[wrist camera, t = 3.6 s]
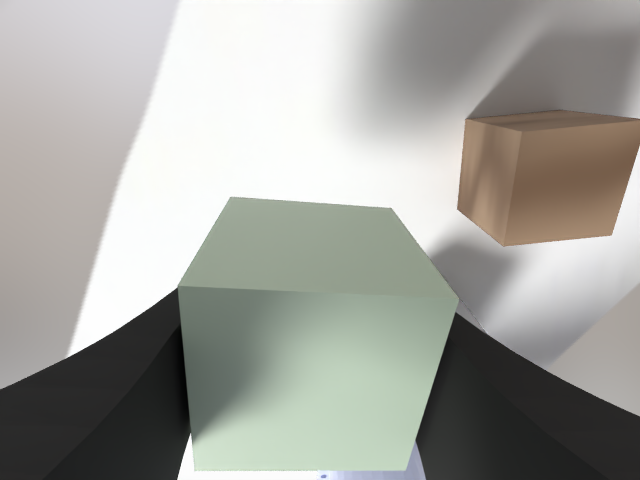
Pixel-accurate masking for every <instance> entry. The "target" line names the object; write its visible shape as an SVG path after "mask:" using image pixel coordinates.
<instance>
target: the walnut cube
mask: <svg viewBox="0 0 640 480" xmlns="http://www.w3.org/2000/svg"><path fill="white" fill-rule="evenodd" d="M639 146H640V119H637V118H628V117H619V116H610V115H601V114H592V113H583V112H574V111H565V110H555V111H544V112H534V113H523V114H513V115H502V116H492V117H481V118H471V119H466V120H465V131H464V141H463V152H462V163H461V174H460V184H459V195H458V206H457V210H459V211H460V212H461V213H462V214H464V215H465V216H466V217H467V218H469V219H470V220H471V221H472V222H474V223H475V224H476V225H477V226H479V227H480V228H481V229H482V230H483V231H485V232H486V233H487V234H488V235H490V236H491V237H492V238H493V239H495V240H496V241H497V242H498V243H500V244H501V245H502V246H513V245H522V244H532V243H542V242H552V241H561V240H571V239H581V238H591V237H600V236H610V235H612V233H613V229H614V226H615V223H616V220H617V216H618V213H619V210H620V207H621V204H622V200H623V197H624V194H625V191H626V188H627V184H628V181H629V178H630V175H631V171H632V168H633V165H634V162H635V159H636V155H637V152H638V149H639Z"/></svg>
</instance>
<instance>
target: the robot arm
mask: <svg viewBox="0 0 640 480" xmlns="http://www.w3.org/2000/svg"><path fill="white" fill-rule="evenodd" d="M190 433H191V426H190V415H189V404H188V393H187V382H186V372H185V361H184V350H183V339H182V328H181V318H180V307H179V296H178V288H176V289H175V290H174V291H172V292H171V293H170V294H168V295H167V296H166V297H164V298H163V299H161V300H160V301H159V302H157V303H156V304H155V305H153V306H152V307H151V308H149V309H148V310H146V311H145V312H143V313H142V314H140V315H139V316H137V317H136V318H134V319H133V320H131V321H130V322H128V323H127V324H125V325H124V326H122V327H121V328H119V329H117V330H116V331H114V332H113V333H111V334H109V335H108V336H106V337H104V338H103V339H101V340H99V341H97V342H96V343H94V344H92V345H90V346H88V347H87V348H85V349H83V350H81V351H79V352H78V353H76V354H74V355H72V356H70V357H68V358H66V359H64V360H62V361H60V362H58V363H56V364H54V365H52V366H50V367H48V368H45V369H43V370H41V371H39V372H37V373H35V374H33V375H31V376H29V377H27V378H25V379H23V380H21V381H18V382H16V383H14V384H12V385H10V386H7V387H5V388H3V389H0V480H177V478H178V474H179V470H180V466H181V462H182V459H183V455H184V452H185V449H186V445H187V442H188V439H189V436H190ZM317 480H640V416H637V415H635V414H633V413H631V412H628V411H626V410H624V409H621V408H619V407H617V406H615V405H613V404H611V403H609V402H607V401H604V400H602V399H600V398H598V397H596V396H594V395H592V394H590V393H588V392H586V391H584V390H582V389H580V388H578V387H576V386H574V385H572V384H570V383H568V382H566V381H564V380H562V379H560V378H559V377H557V376H555V375H553V374H551V373H549V372H547V371H546V370H544V369H542V368H540V367H539V366H537V365H535V364H534V363H532V362H530V361H528V360H527V359H525V358H523V357H522V356H520V355H518V354H516V353H515V352H513V351H512V350H510V349H508V348H507V347H505V346H504V345H502V344H501V343H499V342H498V341H496V340H495V339H493V338H492V337H490V336H489V335H487V334H486V333H484V332H483V331H481V330H480V329H479V328H477V327H476V326H474V325H473V324H472V323H470V322H469V321H467V320H466V319H465V318H463V317H462V316H461V315H459V314H458V313H457V312H455V315H454V318H453V321H452V324H451V327H450V331H449V334H448V337H447V340H446V343H445V347H444V350H443V353H442V356H441V359H440V363H439V366H438V369H437V372H436V375H435V379H434V382H433V385H432V388H431V391H430V395H429V398H428V401H427V404H426V407H425V410H424V414H423V417H422V420H421V423H420V426H419V430H418V433H417V436H416V439H415V442H414V446H413V449H412V452H411V455H410V458H409V462H408V465H407V468H406V471H318V474H317Z"/></svg>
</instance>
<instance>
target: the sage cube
mask: <svg viewBox="0 0 640 480" xmlns="http://www.w3.org/2000/svg"><path fill="white" fill-rule="evenodd" d="M178 296H179V307H180V318H181V328H182V339H183V350H184V361H185V372H186V382H187V393H188V404H189V415H190V426H191V436H192V447H193V458H194V469H195V471H406V468H407V465H408V462H409V458H410V455H411V452H412V449H413V446H414V442H415V439H416V436H417V433H418V430H419V426H420V423H421V420H422V417H423V414H424V410H425V407H426V404H427V401H428V398H429V395H430V391H431V388H432V385H433V382H434V379H435V375H436V372H437V369H438V366H439V363H440V359H441V356H442V353H443V350H444V347H445V343H446V340H447V337H448V334H449V331H450V327H451V324H452V321H453V318H454V315H455V311H456V308H457V305H458V302H459V298H458V296H457V295H456V294H455V292H454V291H453V290H452V288H451V287H450V286H449V284H448V283H447V282H446V280H445V279H444V278H443V276H442V275H441V274H440V272H439V271H438V270H437V268H436V267H435V266H434V264H433V263H432V262H431V260H430V259H429V258H428V256H427V255H426V254H425V252H424V251H423V250H422V248H421V247H420V246H419V244H418V243H417V242H416V240H415V239H414V238H413V236H412V235H411V234H410V232H409V231H408V230H407V228H406V227H405V226H404V224H403V223H402V222H401V220H400V219H399V218H398V216H397V215H396V214H395V212H394V211H393V210H392V208H382V207H367V206H353V205H339V204H325V203H311V202H297V201H283V200H269V199H255V198H241V197H230V199H229V200H228V202H227V204H226V205H225V207H224V209H223V210H222V212H221V214H220V215H219V217H218V219H217V220H216V222H215V224H214V225H213V227H212V229H211V231H210V232H209V234H208V236H207V237H206V239H205V241H204V242H203V244H202V246H201V247H200V249H199V251H198V252H197V254H196V256H195V257H194V259H193V261H192V262H191V264H190V266H189V267H188V269H187V271H186V272H185V274H184V276H183V278H182V279H181V281H180V283H179V284H178Z"/></svg>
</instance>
